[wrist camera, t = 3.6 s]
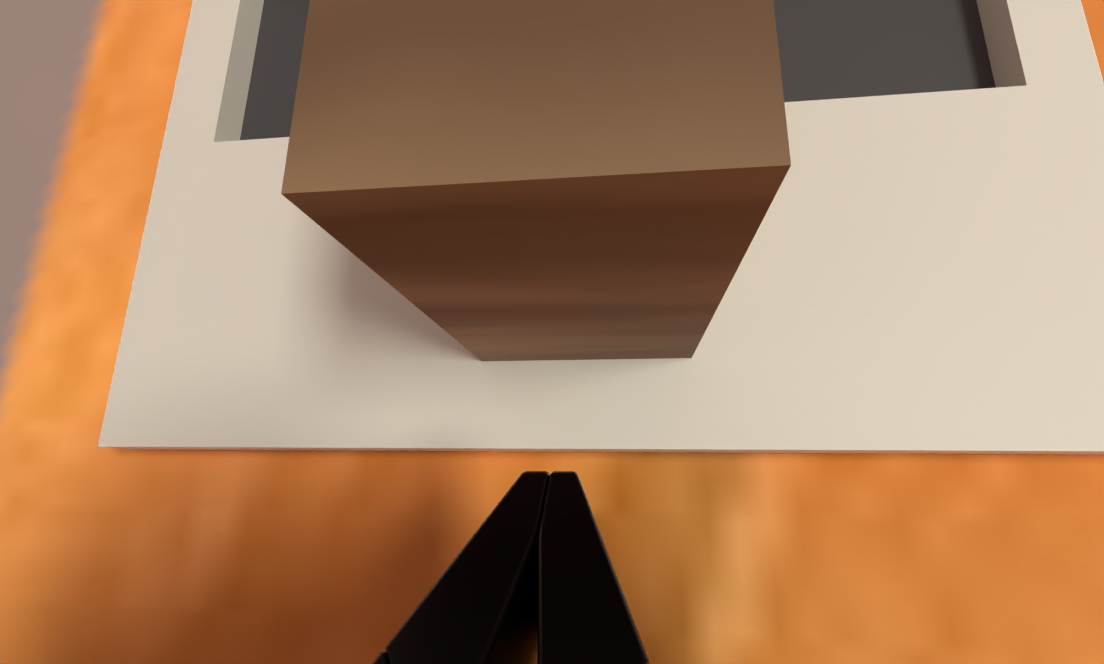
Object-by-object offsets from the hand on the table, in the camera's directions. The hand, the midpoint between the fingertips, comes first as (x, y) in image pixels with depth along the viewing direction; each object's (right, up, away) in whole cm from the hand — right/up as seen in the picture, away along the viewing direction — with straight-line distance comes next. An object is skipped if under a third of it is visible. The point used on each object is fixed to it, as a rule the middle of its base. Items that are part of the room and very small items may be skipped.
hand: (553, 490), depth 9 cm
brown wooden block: (+1, +9, +9) cm, 13 cm away
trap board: (+1, +14, +12) cm, 18 cm away
